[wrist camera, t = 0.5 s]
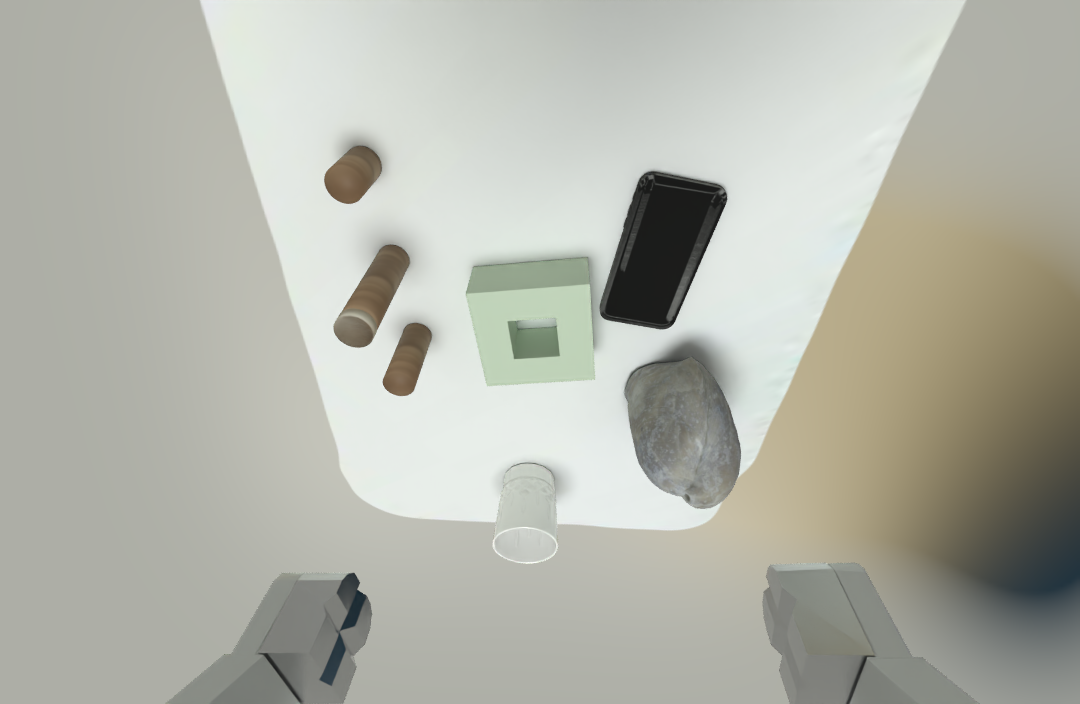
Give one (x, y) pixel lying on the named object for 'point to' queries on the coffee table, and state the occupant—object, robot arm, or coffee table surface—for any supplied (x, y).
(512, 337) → the socket block
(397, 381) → the pin medium
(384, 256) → the pin long
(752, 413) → the coffee table surface
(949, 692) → the robot arm
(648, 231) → the phone
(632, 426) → the decorative stone
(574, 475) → the coffee table surface
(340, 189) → the pin short
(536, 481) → the white cup
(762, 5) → the coffee table surface
